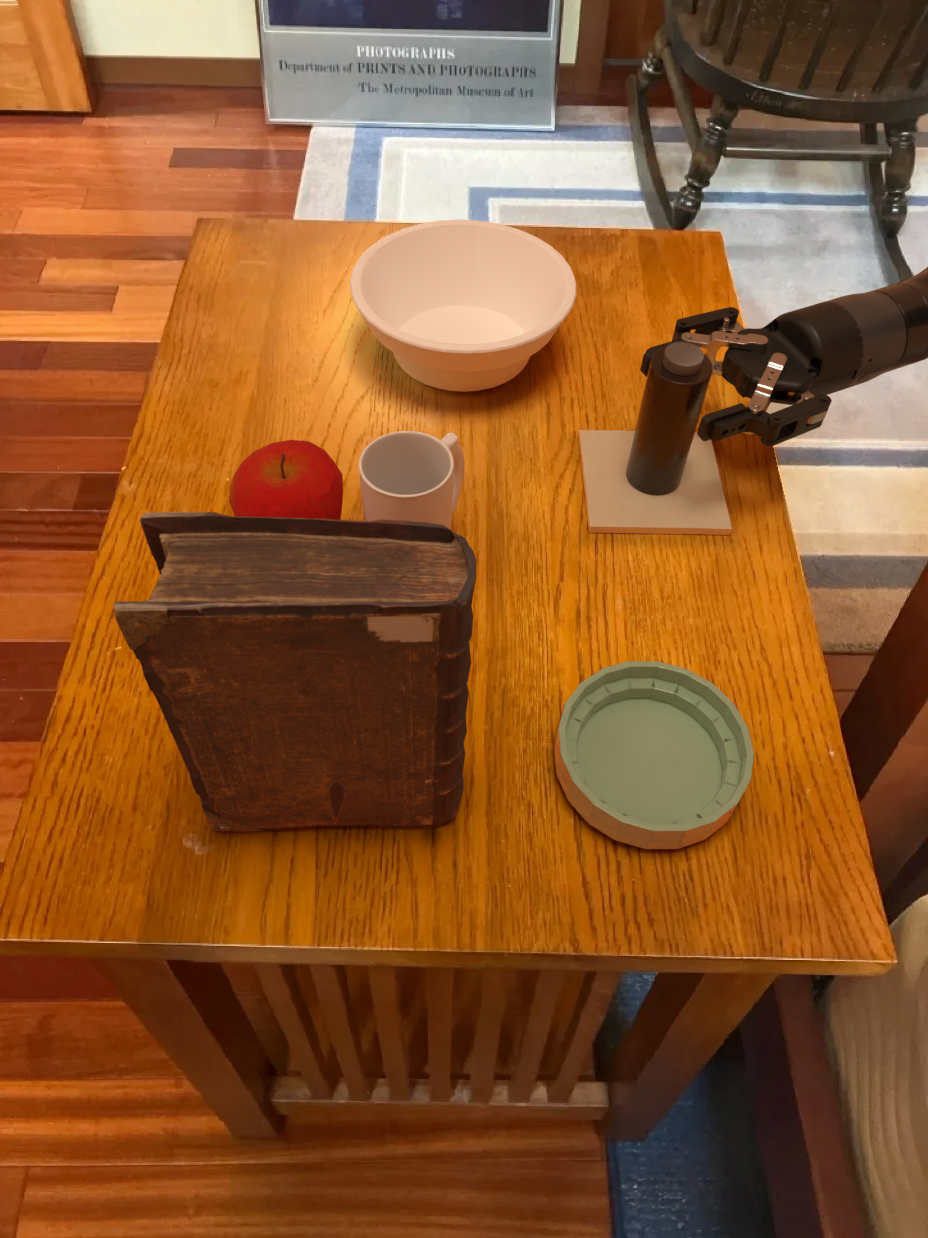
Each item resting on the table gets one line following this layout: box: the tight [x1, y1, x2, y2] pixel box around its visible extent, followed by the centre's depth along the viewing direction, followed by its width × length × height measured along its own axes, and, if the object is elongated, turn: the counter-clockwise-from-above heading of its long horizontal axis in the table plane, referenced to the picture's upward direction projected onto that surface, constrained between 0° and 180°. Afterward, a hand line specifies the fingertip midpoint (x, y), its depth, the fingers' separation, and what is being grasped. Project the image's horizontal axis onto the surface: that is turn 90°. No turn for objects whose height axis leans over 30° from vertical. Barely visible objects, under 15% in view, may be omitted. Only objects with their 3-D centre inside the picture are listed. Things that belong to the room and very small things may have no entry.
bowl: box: [349, 219, 577, 392], centre depth 89 cm, size 21×21×8 cm
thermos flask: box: [626, 342, 713, 495], centre depth 76 cm, size 5×5×13 cm
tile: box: [577, 429, 733, 536], centre depth 82 cm, size 12×12×1 cm
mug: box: [358, 430, 465, 531], centre depth 71 cm, size 10×7×12 cm, turn 142°
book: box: [113, 511, 477, 833], centre depth 53 cm, size 17×7×25 cm, turn 85°
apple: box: [228, 439, 344, 520], centre depth 71 cm, size 9×8×12 cm
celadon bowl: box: [553, 660, 755, 850], centre depth 64 cm, size 13×13×4 cm
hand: (672, 396), depth 74 cm, fingers open, 8 cm apart
